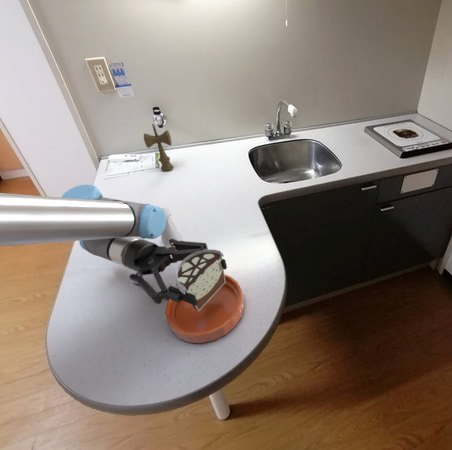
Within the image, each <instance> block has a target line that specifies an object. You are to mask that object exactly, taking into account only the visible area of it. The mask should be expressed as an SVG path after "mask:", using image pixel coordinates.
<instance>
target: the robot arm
mask: <svg viewBox="0 0 452 450" xmlns="http://www.w3.org/2000/svg"><path fill="white" fill-rule="evenodd" d="M161 208H162V207H161V206H158V205H153V204H151V203H142V202H141V203H139V202H135V201H127V200H121V199H116V198H110V197H104V196H103V194H102V192H101V191H100V189H99V188H98V187H97V186H95V185H93V184H80V185H76V186H73V187H71V188H70V189H68V190H67V191H65V192H64V193H63V194H62V196H60V197H59V196H47V195H46V196H45V195H33V194H20V193H6V192H0V248H5V247H17V246H31V245H41V244H55V243H67V242H68V243H69V242H78V243H79V246H80V248H82V249H83V250H85V251H86V252H88V254H92V255H93V256H96V257H100V258H102V259H105V260H107V261H110V262H112V263H115V264H118V265H120V266H123V267H126V268H128V269H130V270H132V271H135V273H131V274H130V275H129V279H130V281H131V282H132V284H133V285H134V286H136V287H139V288H140V289H141V290H142V291H143V292H144V293H145V294H146V295H147V296H148V297H149V298H150V299H151V300H152V302H154V303H155V304H156V305H160V304H162V301H163V300H165V301H166V302H167V301H168V300H173V301H175V302H180V301H181V300H183V301H185V302H188V303H190V304H192V305H195V306H196V305H197V304H198V302H197V299H196V297H195V295H193V294H190V293H189V294H187V293H186V292H185V294H183V293H182V292H181V291H180V290H179V289H178V288H177V286H173V285H169V286H168V287H167V286H166V283H165V281H164V280H163V277H162V275H161V273H163V272H164V271H165V270H166V269H167V267H169V266H171V264H177V263H178V262H182V261H183V260H184V259H185V258H186V257H187V256H189V255H191V254H193V253H195V252H198V251H201V250H207V249H209V248H208V244H207V243H206V242H198V241H186V240H181V241H177V240H175V239H170V240H169V242H170V243H169V244H168V245H167V246H166V245H164V246H163V245H162V246H161V245H160V246H159V245H158V244H156V243H155V242H152V241H150V240H156V239H158V238H160V237H161V234H162V233H163V231H164V229H165V226H166V215H165V212H164V211H163V209H161ZM221 264H222V267H223V269H224V271H226V270H227V268H228V266H227V262H226V259H224V258H222V260H221ZM148 275H153V277H154V279H155V281H156V283H157V285H158V288H159V291H156V290H155V289H154V288H153V287H152V285H151V284H150V283H149V282H147V281H146V280H145V277H144V276H148Z"/></svg>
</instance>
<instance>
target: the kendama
mask: <svg viewBox="0 0 452 450" xmlns="http://www.w3.org/2000/svg"><path fill="white" fill-rule="evenodd" d="M151 125H152V129H153V132H154V135H151V134H149V133H145V132H144V134H143V141H144V144H145V146H146V148H148V149H149V148H151V147H152V146H154V145H155V144H157V148H158V153H159V158H158V162H160V164H161V166H160V170H161V171H162V172H168V171H171V170H173V169H174V164H172V163H171V161H170V160H171V157H170V156H168V154H167V153H166V151H165V149H164V147H163V145H162V143H163V144H165V145H168V146H172V145H173V144H172V136H171V133H170V132H169V130H168V129H166V130H165V131H164V132H162V133H161V134H159V135H158V132H157V128H156V126H155V124H154V123H152V124H151Z"/></svg>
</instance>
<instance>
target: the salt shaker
mask: <svg viewBox="0 0 452 450" xmlns="http://www.w3.org/2000/svg"><path fill="white" fill-rule="evenodd" d="M160 208H161V209H163V211H164V212H165V215H166V226H165V229H164V231H163V233H162V234H161V235H160V239H161V243H162V244H163V245H164V246H165V247H166V246H167V245H168V244H169V243H170V242H169V240H170V239H175V240H177V241H182V239H183V238H182V234H181V232H180V231H179V229H178V228H177V227H176V225H175V223H174V222H173V220H172V219H171V217H172V215H171V211H170V210H169V209H168V208H166V207H160Z"/></svg>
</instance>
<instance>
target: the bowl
mask: <svg viewBox="0 0 452 450" xmlns="http://www.w3.org/2000/svg"><path fill="white" fill-rule="evenodd" d="M224 275H225V282H226V283H225V284H224V285H223V286H222V287H221V288H220V289H219V290H218V291H217V292H216V294H215V295H214V296H213V297H212V298H211V299H210V300H209V301H208V302H207V303H206V304H205V305H204V306H203V307H202V309H201V310H200V311H199V312H198V311H197V310H196V309H195V308H194V307H193V305H192V304H190V303H188V302H185V301H183V300H181V301H180V302H175V301H173V300H168V301H166V303H165V311H164V315H165V318H166V321H167V324H168V326H169V328H170V330H171V331H172V333H173V334H174V335H175V336H176V337H177V338H178V339H180V340H182V341H185V342H186V343H193V344H202V343H204V344H205V343H208V342H213V341H216V340H218V339H220V338H222V337H224V336H226V335H227V334H228V333H229V332H230V331H231V330H232V329H234V328H235V327H236V326H237V324H238V322H239V321H240V320H241V318H242V315H243V313H244V308H245V302H244V301H245V300H244V296H243V291H242V288H241V286H240V284H239V283H238V281H237V280H235V279H234V278H233V277H232V276H231V275H227V274H225V273H224ZM176 288H178V287H177V286H176Z"/></svg>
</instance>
